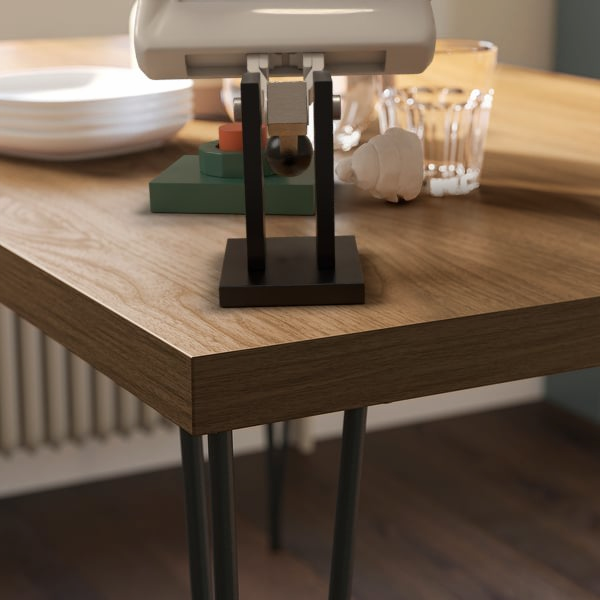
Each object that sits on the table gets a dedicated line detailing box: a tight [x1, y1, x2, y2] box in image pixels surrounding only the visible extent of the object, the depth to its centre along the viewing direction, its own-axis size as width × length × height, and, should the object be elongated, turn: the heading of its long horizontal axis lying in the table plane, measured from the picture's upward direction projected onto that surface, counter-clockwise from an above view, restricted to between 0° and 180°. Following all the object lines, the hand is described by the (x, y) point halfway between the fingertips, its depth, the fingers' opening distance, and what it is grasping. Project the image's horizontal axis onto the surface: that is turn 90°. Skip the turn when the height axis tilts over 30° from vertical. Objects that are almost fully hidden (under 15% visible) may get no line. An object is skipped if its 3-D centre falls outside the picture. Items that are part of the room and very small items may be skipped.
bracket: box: [218, 71, 366, 308], centre depth 67 cm, size 10×8×12 cm
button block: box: [148, 137, 315, 216], centre depth 89 cm, size 12×10×4 cm
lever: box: [265, 80, 314, 177], centre depth 72 cm, size 14×3×3 cm, turn 0°
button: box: [218, 122, 268, 151], centre depth 88 cm, size 4×4×2 cm
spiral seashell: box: [334, 126, 425, 203], centre depth 86 cm, size 6×6×5 cm
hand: (286, 121), depth 77 cm, fingers closed, pressing on lever
